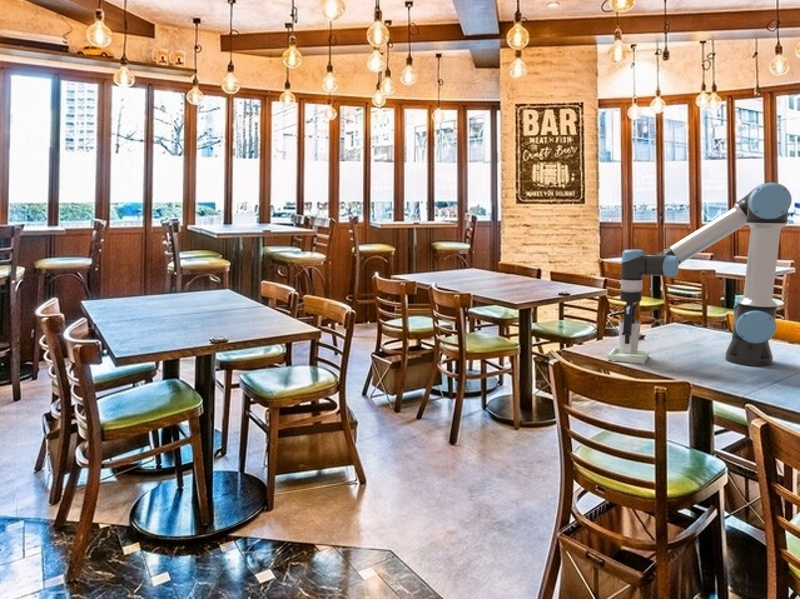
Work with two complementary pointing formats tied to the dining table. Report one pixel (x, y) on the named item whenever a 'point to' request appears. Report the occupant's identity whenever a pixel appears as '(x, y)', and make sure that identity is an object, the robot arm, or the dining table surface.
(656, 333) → the dining table surface
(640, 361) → the tray
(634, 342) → the cup
